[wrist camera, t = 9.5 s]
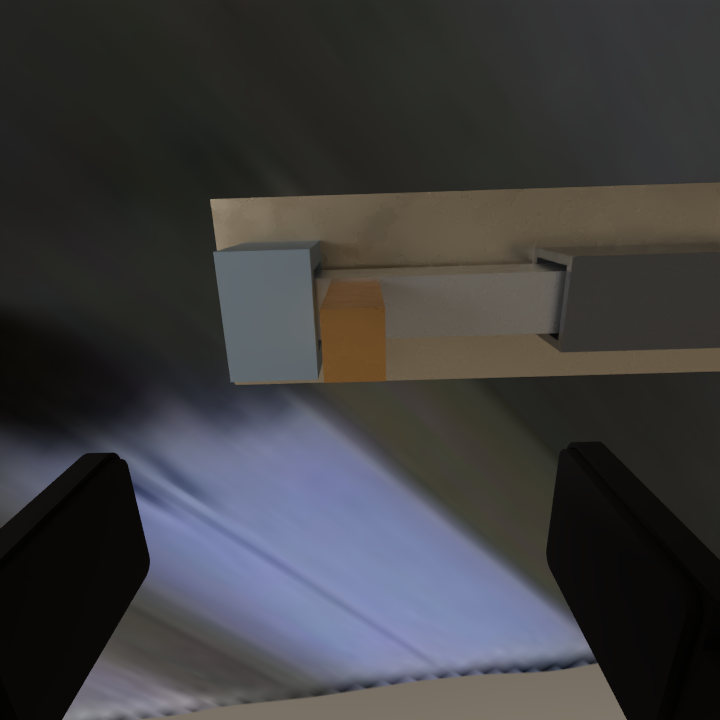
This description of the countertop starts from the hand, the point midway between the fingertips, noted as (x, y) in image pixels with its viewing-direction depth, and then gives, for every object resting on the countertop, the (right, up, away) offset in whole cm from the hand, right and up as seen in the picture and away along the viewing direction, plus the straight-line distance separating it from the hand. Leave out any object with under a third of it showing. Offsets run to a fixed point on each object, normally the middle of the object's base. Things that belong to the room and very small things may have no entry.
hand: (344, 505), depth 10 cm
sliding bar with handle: (+6, +8, +22) cm, 24 cm away
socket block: (-5, +8, +24) cm, 25 cm away
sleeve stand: (+11, +9, +24) cm, 28 cm away
